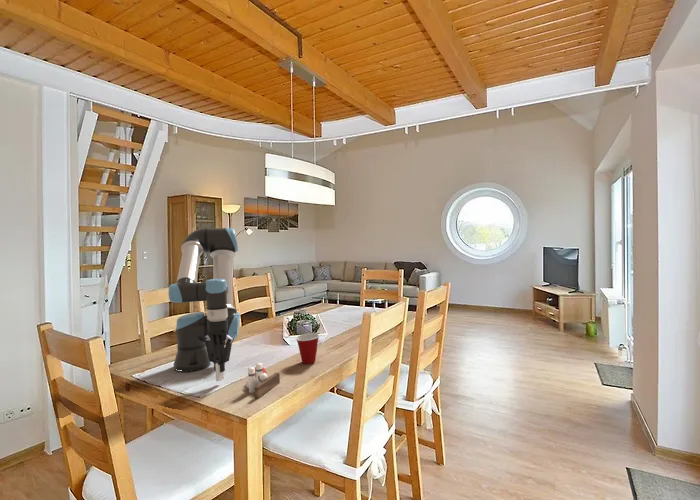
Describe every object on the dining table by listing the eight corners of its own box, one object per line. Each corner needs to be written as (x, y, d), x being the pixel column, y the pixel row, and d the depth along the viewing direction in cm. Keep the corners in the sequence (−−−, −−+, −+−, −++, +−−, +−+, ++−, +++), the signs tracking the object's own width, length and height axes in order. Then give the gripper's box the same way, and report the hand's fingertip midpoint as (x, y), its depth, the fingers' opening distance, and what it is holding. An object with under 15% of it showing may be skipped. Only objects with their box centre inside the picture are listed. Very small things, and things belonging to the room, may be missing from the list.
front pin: (244, 383, 146) (261, 374, 143) (248, 381, 148) (265, 371, 146) (247, 389, 146) (265, 380, 143) (251, 386, 148) (268, 377, 145)
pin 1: (247, 392, 143) (246, 369, 142) (251, 389, 145) (250, 367, 145) (253, 393, 142) (252, 369, 142) (257, 390, 144) (256, 367, 144)
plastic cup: (296, 359, 180) (295, 333, 180) (320, 357, 181) (319, 332, 181) (295, 366, 169) (294, 339, 169) (320, 365, 170) (319, 338, 170)
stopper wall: (254, 398, 137) (254, 387, 137) (276, 382, 152) (275, 372, 151) (258, 398, 137) (258, 387, 137) (279, 383, 151) (279, 372, 151)
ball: (258, 384, 148) (249, 370, 149) (254, 386, 153) (246, 373, 154) (271, 375, 152) (263, 361, 153) (267, 378, 156) (259, 365, 157)
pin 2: (255, 387, 147) (254, 364, 147) (258, 384, 150) (257, 362, 149) (260, 388, 147) (260, 365, 146) (264, 385, 149) (263, 363, 149)
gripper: (196, 320, 149) (199, 381, 150) (225, 322, 144) (228, 385, 145) (209, 316, 156) (212, 374, 157) (237, 318, 151) (240, 377, 152)
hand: (219, 379), depth 151 cm, fingers closed
